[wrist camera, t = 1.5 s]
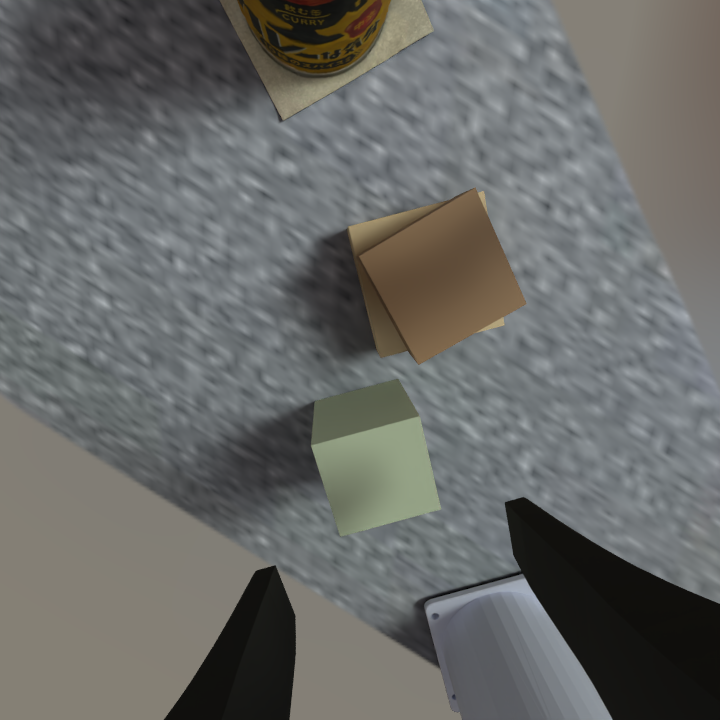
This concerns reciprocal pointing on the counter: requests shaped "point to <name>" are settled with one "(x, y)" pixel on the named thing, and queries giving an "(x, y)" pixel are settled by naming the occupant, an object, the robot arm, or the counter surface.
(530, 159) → the counter surface
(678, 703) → the robot arm
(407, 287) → the walnut slab
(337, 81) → the condiment
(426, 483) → the sage block
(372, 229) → the oak slab
